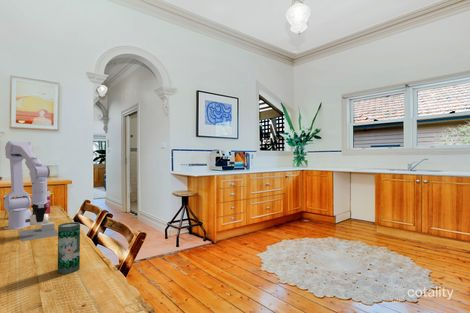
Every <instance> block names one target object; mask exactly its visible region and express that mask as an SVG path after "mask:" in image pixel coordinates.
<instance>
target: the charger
mask: <svg viewBox="0 0 470 313" xmlns="http://www.w3.org/2000/svg"><path fill="white" fill-rule="evenodd" d="M40 228H41V231H48V230H54V228H55V222H54V221H48V223H46V224H40Z"/></svg>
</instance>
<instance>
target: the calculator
mask: <svg viewBox="0 0 470 313" xmlns="http://www.w3.org/2000/svg"><path fill="white" fill-rule="evenodd" d="M47 200H50V202H47V203H46V206H45V207H48V208H47V210H46V212H45V214H48V215H49V214H50V213H51V190H50V189H47ZM32 205H35V204H32ZM32 215H35V214H34V210H33V209H32Z"/></svg>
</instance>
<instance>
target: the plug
mask: <svg viewBox="0 0 470 313" xmlns="http://www.w3.org/2000/svg"><path fill="white" fill-rule="evenodd" d="M52 219H54V216H49V213H48V214H44V219H43V222H37V221H36V215H33V214H32V215H31V216H30V219H25V223H26V222H30V226H38V225H39V226H41V224H46V223H48V222H49V220H52Z"/></svg>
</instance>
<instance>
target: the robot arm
mask: <svg viewBox="0 0 470 313" xmlns="http://www.w3.org/2000/svg"><path fill="white" fill-rule="evenodd" d="M33 146H34V145H33V144H32V142H30V141H28V142H26V141H24V142H23V141H7V142H6V143H5V148H4V149H5V158H6V159H8V160H9V163H10V164H9V165H10V169H9V170H10V183H11V184H10V185H11V186H10V187H11V189H10V190H11V191H10V192H8V194H6V195H5V196H4V201H3V206H4V211H6V212H8V214H7V215H8V223H7V224H8V226H7V227H3V229H4V230H21V229H25V228H27V227H29V226H31V225H30V222H26V223H25V219H30V216H31V215H33V212H32V211H33V210H34V214H35V215H36V221H37V222H43V219H44V214H45V212H46V210H47V208H48V207H45V206H46V203H47V202H50V203H51V199H50V200H47V190H48V178H49V177H50V174H51V169H50V167H49V165H46V164H43V163H42V162H41V159H40V158H39V157H37V156H35V155H34V153H33V150H34V147H33ZM23 160H25V162H24V163H25V165H26V167H27V168H28V170H29V177H30V182H31V197H30V193H28V192H27V191H25V190H24V174H23V170H24V169H23ZM33 204H35V205H33ZM30 207H31V209H32V211H31V209H30Z"/></svg>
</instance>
